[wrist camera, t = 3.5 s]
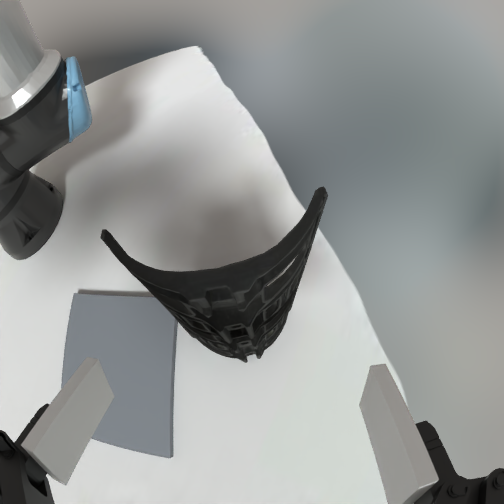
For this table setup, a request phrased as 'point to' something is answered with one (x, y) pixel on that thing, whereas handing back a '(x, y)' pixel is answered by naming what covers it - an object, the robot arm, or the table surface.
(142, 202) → the table surface
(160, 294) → the holder
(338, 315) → the table surface
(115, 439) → the mat
